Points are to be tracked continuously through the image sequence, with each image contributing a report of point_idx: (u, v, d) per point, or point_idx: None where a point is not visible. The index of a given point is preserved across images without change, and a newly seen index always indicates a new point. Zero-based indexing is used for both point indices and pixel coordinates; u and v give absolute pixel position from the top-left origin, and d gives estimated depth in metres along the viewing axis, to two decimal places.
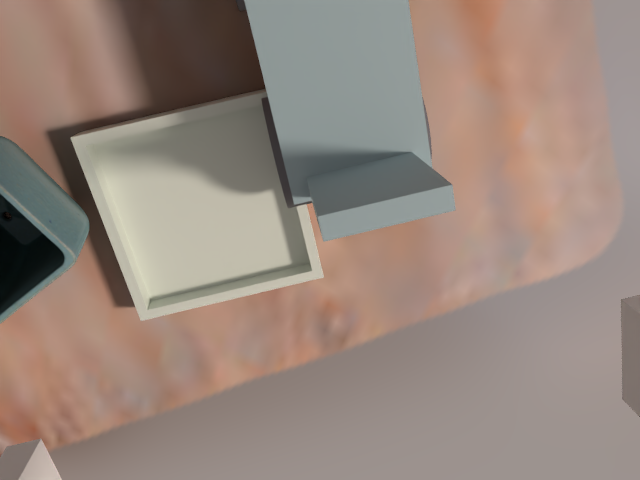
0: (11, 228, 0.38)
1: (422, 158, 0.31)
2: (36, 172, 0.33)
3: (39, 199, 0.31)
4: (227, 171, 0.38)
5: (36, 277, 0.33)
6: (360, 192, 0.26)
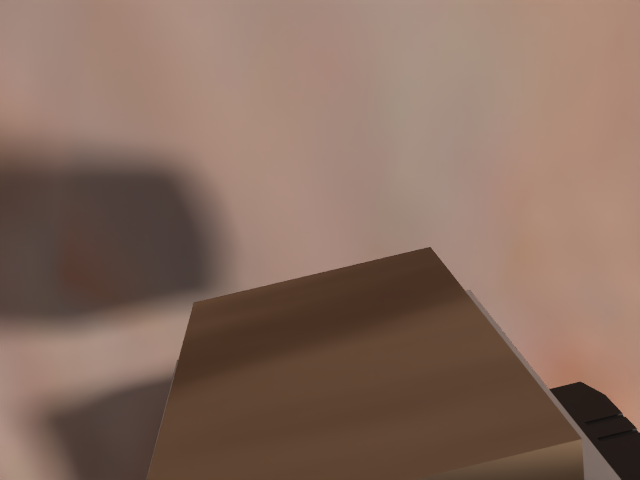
0: None
1: None
2: None
3: None
4: None
5: None
6: None
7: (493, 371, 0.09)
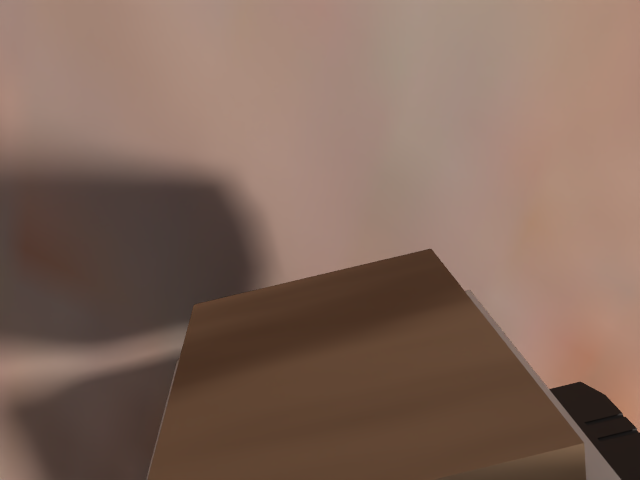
0: None
1: None
2: None
3: None
4: None
5: None
6: None
7: (494, 374, 0.09)
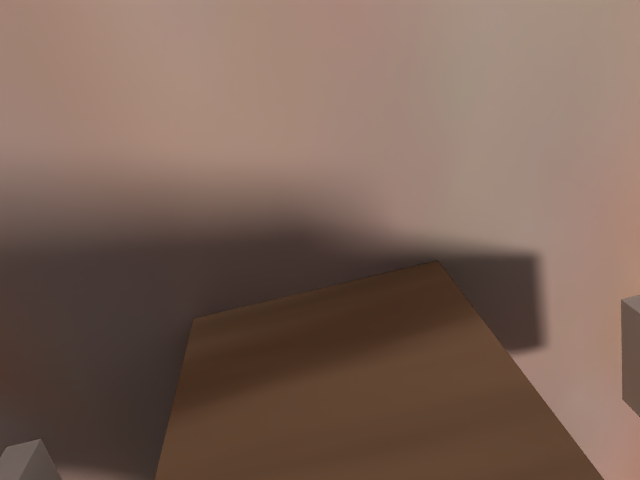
0: None
1: None
2: None
3: None
4: None
5: None
6: None
7: (507, 401, 0.08)
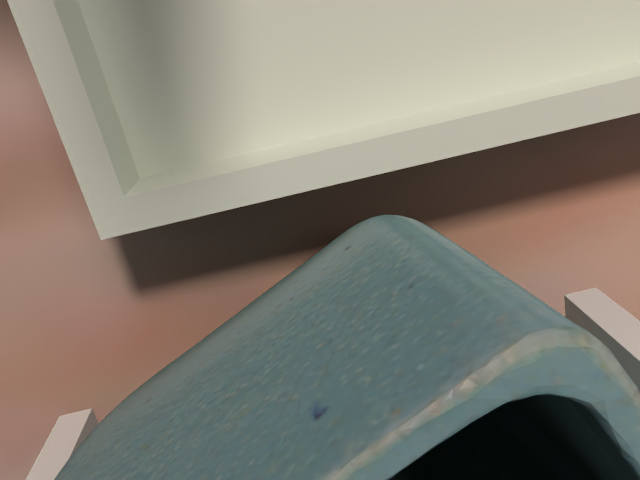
0: None
1: None
2: (191, 362, 0.10)
3: (232, 414, 0.07)
4: None
5: (585, 446, 0.08)
6: None
7: None
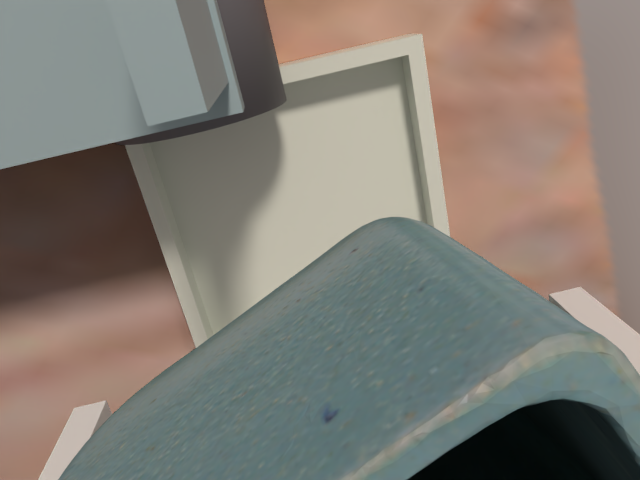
0: None
1: None
2: (197, 362, 0.10)
3: (241, 416, 0.07)
4: (249, 179, 0.26)
5: (593, 451, 0.08)
6: None
7: None
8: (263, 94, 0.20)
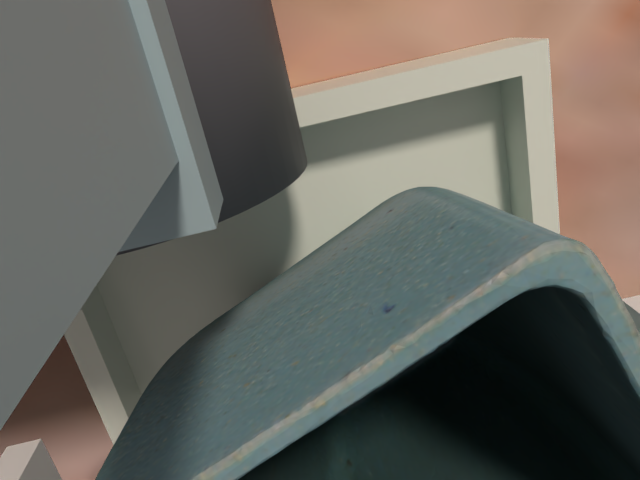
0: None
1: None
2: (257, 301, 0.12)
3: (311, 323, 0.09)
4: (241, 277, 0.16)
5: (576, 366, 0.10)
6: None
7: None
8: (264, 163, 0.10)
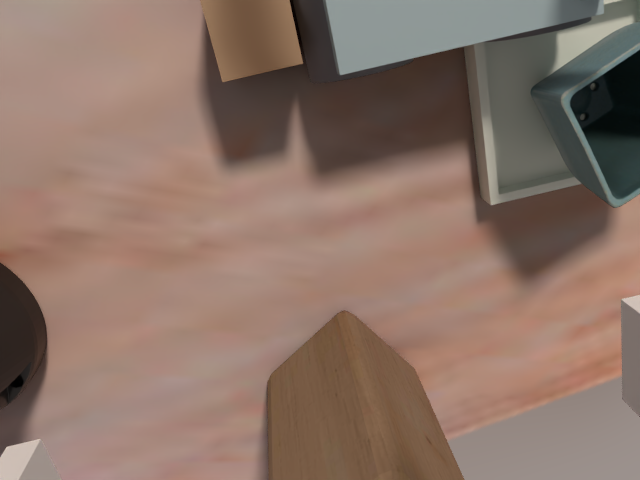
0: (595, 115, 0.42)
1: None
2: (571, 62, 0.37)
3: (612, 48, 0.34)
4: (533, 77, 0.41)
5: None
6: None
7: None
8: None
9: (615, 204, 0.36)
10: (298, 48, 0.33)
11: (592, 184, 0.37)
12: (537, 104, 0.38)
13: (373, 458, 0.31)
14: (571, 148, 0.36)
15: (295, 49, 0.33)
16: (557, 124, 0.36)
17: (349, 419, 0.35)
